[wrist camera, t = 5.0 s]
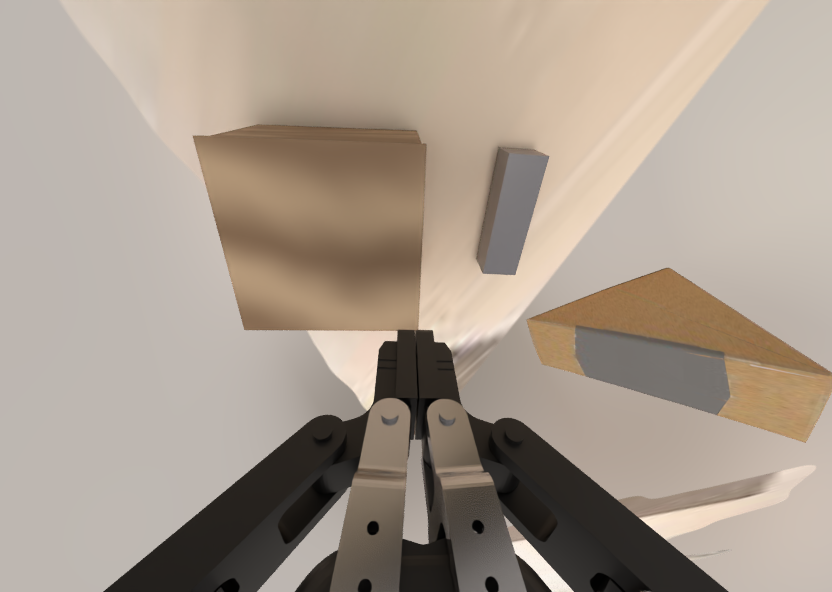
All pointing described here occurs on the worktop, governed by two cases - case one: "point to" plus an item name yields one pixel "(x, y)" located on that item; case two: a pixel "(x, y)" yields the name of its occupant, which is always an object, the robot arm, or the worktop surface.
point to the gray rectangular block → (510, 209)
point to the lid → (319, 230)
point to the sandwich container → (685, 353)
